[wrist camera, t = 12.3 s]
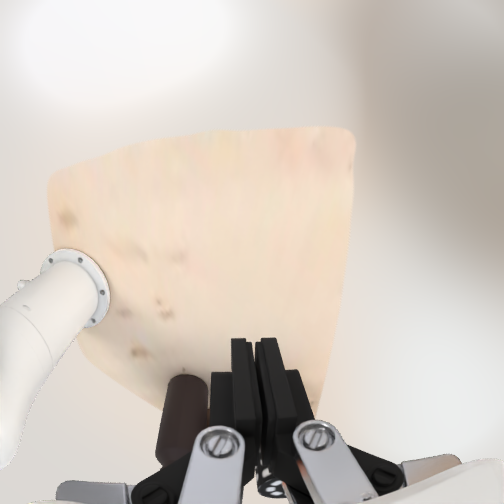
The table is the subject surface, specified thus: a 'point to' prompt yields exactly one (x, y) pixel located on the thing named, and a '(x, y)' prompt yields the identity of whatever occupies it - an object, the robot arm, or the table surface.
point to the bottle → (181, 418)
